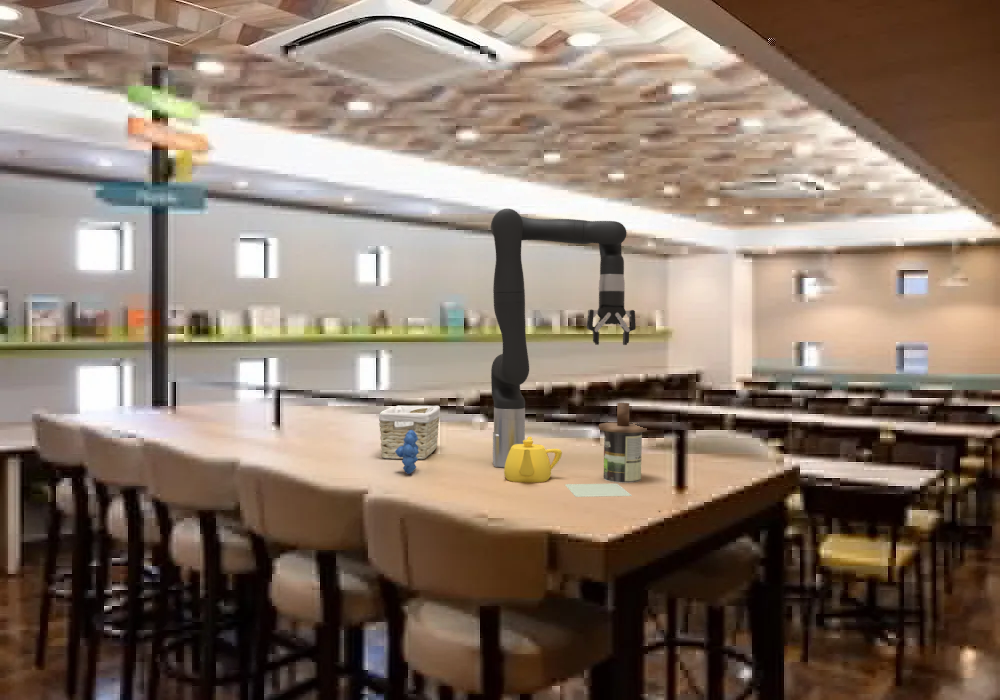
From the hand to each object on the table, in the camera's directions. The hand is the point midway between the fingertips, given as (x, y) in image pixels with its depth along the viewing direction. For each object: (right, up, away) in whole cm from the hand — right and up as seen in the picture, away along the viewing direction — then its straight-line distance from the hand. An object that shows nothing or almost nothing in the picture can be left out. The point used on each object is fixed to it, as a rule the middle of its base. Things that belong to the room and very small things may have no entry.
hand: (611, 344), depth 226 cm
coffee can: (0, -37, -21) cm, 43 cm away
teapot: (-24, -37, -20) cm, 49 cm away
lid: (0, -23, -21) cm, 31 cm away
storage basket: (-62, -35, +19) cm, 73 cm away
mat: (-8, -37, -35) cm, 52 cm away
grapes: (-59, -36, -12) cm, 70 cm away
